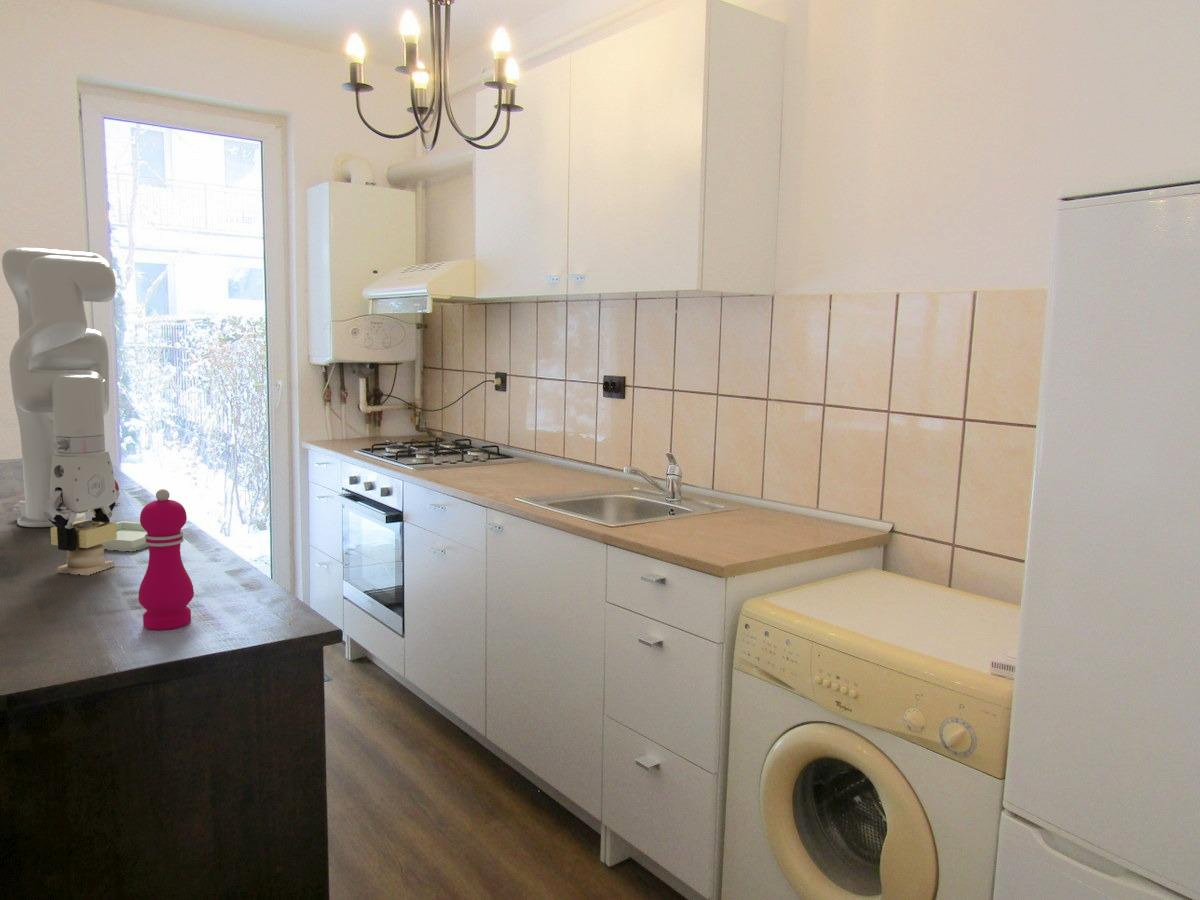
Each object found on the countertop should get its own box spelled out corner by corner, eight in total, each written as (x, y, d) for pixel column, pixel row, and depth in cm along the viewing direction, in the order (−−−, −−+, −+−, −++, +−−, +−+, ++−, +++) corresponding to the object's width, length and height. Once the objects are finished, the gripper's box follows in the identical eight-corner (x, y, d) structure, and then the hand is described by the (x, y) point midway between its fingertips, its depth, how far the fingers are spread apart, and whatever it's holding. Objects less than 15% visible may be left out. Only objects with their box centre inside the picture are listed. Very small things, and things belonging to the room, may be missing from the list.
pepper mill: (152, 615, 127) (147, 484, 124) (202, 615, 127) (198, 485, 125) (130, 631, 120) (124, 493, 117) (183, 631, 120) (178, 494, 118)
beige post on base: (58, 572, 147) (55, 524, 146) (85, 563, 153) (82, 517, 152) (88, 575, 146) (85, 526, 145) (113, 566, 152) (111, 519, 150)
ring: (86, 548, 145) (85, 531, 144) (41, 543, 146) (40, 526, 146) (116, 538, 152) (116, 522, 151) (73, 534, 153) (72, 518, 153)
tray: (69, 546, 164) (68, 535, 164) (122, 531, 178) (122, 521, 177) (132, 552, 162) (132, 541, 161) (181, 536, 175) (181, 525, 175)
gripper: (58, 453, 137) (63, 559, 140) (135, 440, 154) (138, 535, 157) (18, 450, 139) (24, 555, 141) (99, 438, 155) (103, 531, 158)
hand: (84, 543), depth 149 cm, fingers closed on ring, 7 cm apart
